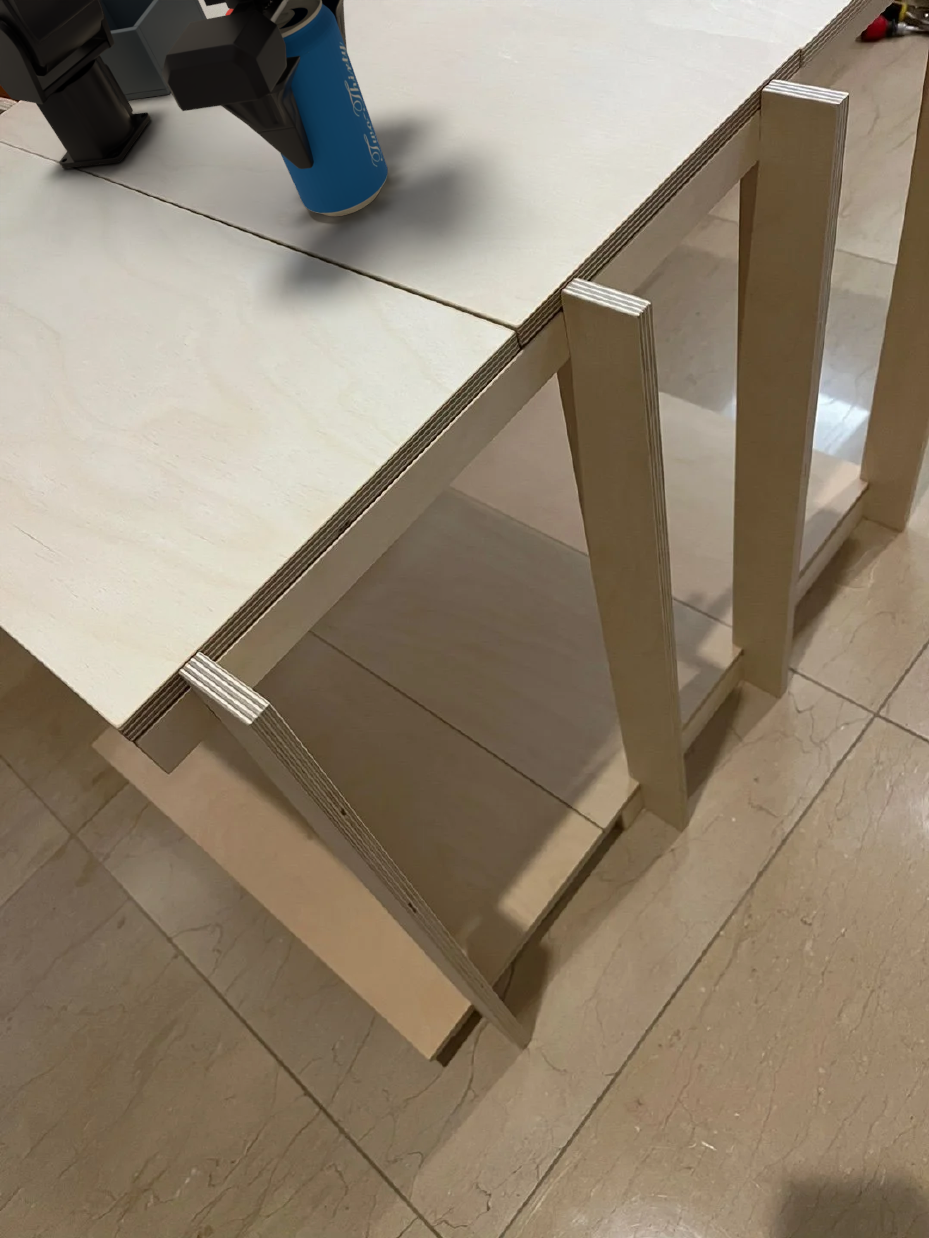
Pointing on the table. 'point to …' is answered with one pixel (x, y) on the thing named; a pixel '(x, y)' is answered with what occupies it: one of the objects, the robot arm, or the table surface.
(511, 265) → the table surface
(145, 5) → the basket
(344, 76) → the beverage can
